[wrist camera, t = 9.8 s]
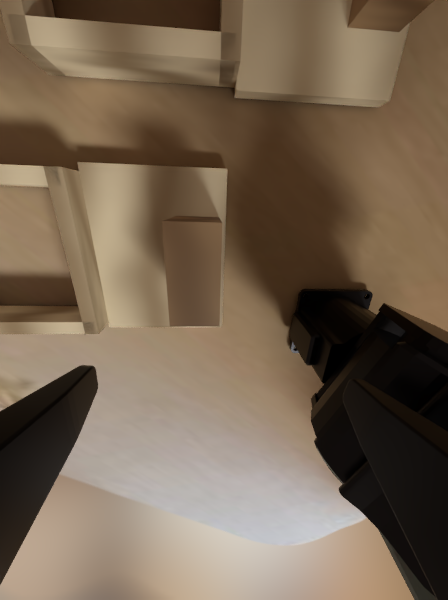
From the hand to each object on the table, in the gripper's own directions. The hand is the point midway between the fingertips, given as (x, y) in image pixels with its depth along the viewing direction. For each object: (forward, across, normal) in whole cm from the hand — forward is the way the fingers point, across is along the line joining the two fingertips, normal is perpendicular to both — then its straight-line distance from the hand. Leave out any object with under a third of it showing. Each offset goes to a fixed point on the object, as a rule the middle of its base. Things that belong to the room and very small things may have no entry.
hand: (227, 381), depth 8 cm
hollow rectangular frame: (+12, +10, -1) cm, 15 cm away
